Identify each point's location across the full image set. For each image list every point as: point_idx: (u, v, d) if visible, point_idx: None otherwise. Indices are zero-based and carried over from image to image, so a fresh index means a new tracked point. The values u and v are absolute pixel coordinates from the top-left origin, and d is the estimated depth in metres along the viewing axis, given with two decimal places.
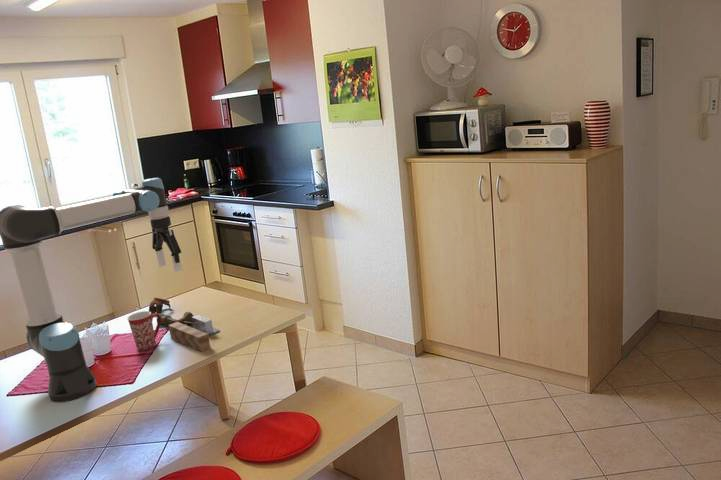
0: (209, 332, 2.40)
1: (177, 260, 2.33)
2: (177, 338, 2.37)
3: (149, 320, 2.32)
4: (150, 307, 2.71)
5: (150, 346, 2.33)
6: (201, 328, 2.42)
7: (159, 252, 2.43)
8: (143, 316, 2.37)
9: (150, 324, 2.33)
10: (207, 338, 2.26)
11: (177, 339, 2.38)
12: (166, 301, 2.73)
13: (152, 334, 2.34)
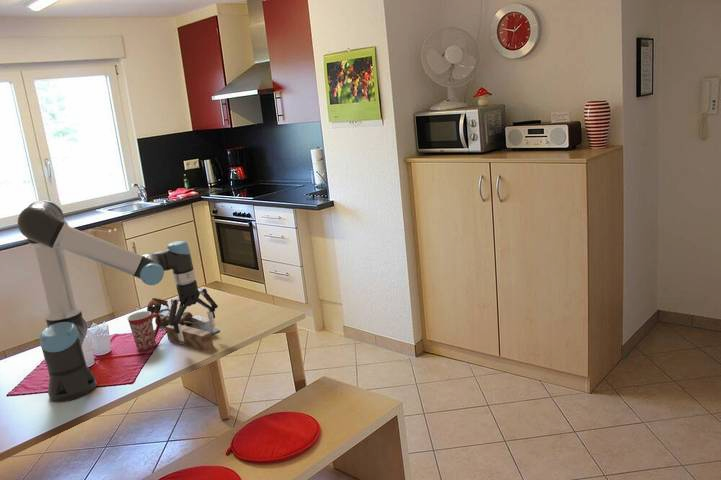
0: None
1: (175, 331, 2.22)
2: (176, 339, 2.37)
3: (149, 320, 2.32)
4: (148, 307, 2.71)
5: (150, 346, 2.33)
6: (201, 328, 2.42)
7: (208, 313, 2.31)
8: (143, 316, 2.37)
9: (150, 324, 2.33)
10: (210, 337, 2.27)
11: (175, 340, 2.37)
12: (164, 301, 2.73)
13: (152, 334, 2.34)
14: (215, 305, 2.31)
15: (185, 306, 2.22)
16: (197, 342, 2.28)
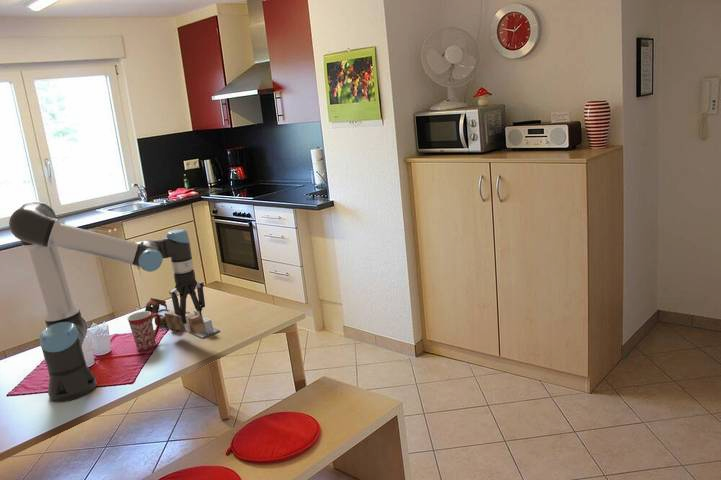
0: (209, 332, 2.40)
1: (182, 321, 2.24)
2: (173, 325, 2.35)
3: (149, 320, 2.32)
4: (147, 307, 2.71)
5: (150, 346, 2.33)
6: None
7: (195, 312, 2.28)
8: (143, 316, 2.37)
9: (150, 324, 2.33)
10: (202, 320, 2.24)
11: (173, 326, 2.36)
12: (163, 301, 2.73)
13: (152, 334, 2.34)
14: (203, 304, 2.28)
15: (185, 296, 2.22)
16: None
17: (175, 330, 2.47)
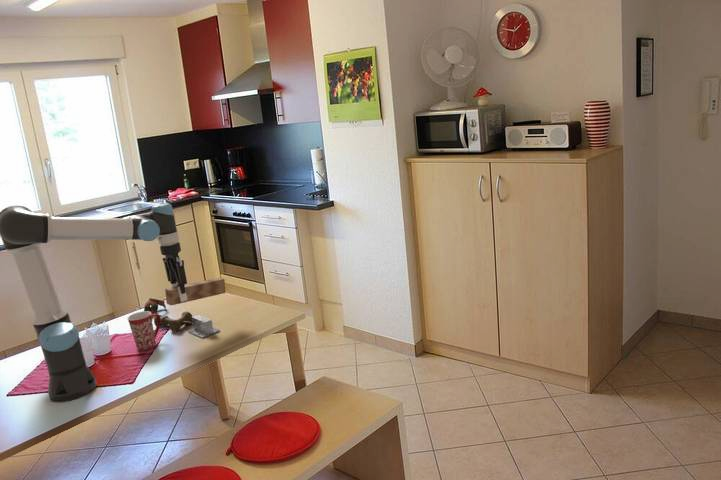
0: (209, 332, 2.40)
1: None
2: None
3: (149, 320, 2.32)
4: (145, 308, 2.71)
5: (150, 346, 2.33)
6: (201, 328, 2.42)
7: None
8: (143, 316, 2.37)
9: (150, 324, 2.33)
10: (169, 295, 2.30)
11: None
12: (161, 302, 2.73)
13: (152, 334, 2.34)
14: (180, 282, 2.28)
15: (167, 266, 2.32)
16: None
17: (175, 330, 2.47)
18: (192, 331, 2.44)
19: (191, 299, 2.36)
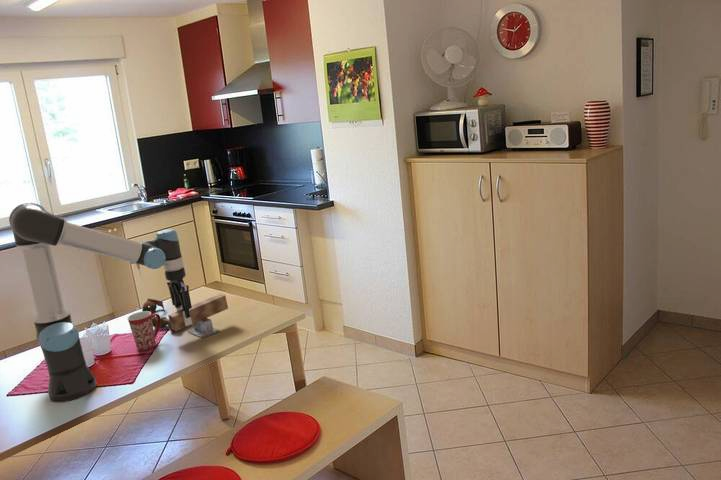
0: (209, 332, 2.40)
1: None
2: None
3: (149, 320, 2.32)
4: (144, 308, 2.71)
5: (150, 346, 2.33)
6: (201, 328, 2.42)
7: None
8: (143, 316, 2.37)
9: (150, 324, 2.33)
10: (173, 321, 2.32)
11: None
12: (160, 302, 2.73)
13: (152, 334, 2.34)
14: (185, 307, 2.31)
15: (172, 291, 2.35)
16: None
17: None
18: (192, 331, 2.44)
19: (195, 321, 2.39)
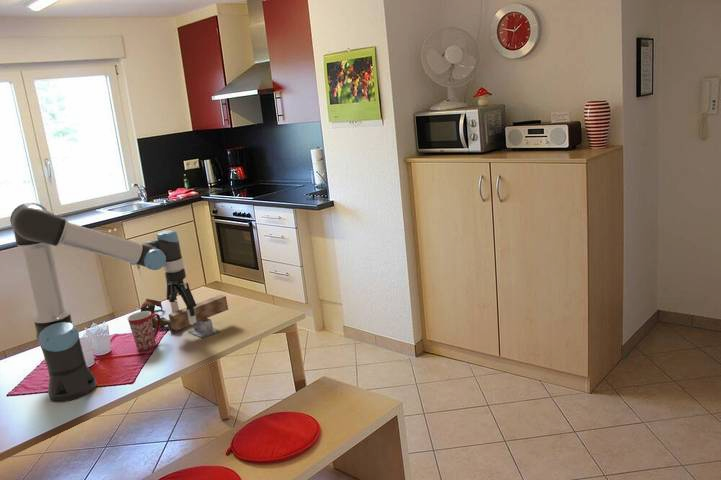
0: (209, 332, 2.40)
1: None
2: None
3: (149, 320, 2.32)
4: (142, 308, 2.71)
5: (150, 346, 2.33)
6: (201, 328, 2.42)
7: None
8: (143, 316, 2.37)
9: (150, 324, 2.33)
10: (173, 320, 2.32)
11: None
12: (158, 302, 2.73)
13: (152, 334, 2.34)
14: (189, 305, 2.28)
15: (171, 290, 2.35)
16: None
17: (175, 330, 2.47)
18: (192, 331, 2.44)
19: None
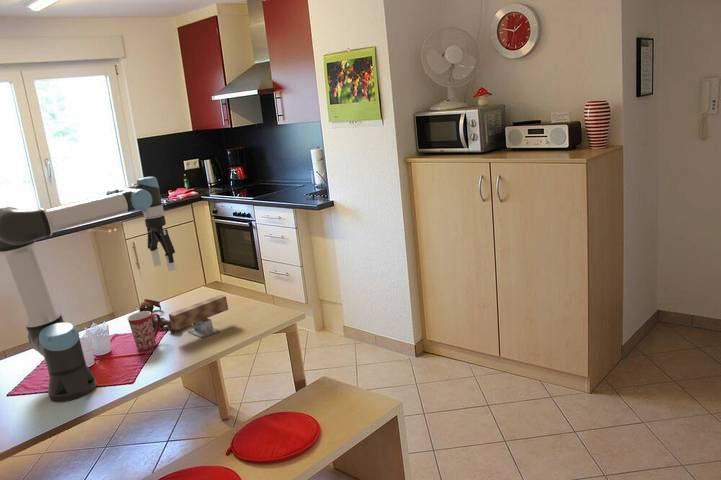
0: (209, 332, 2.40)
1: None
2: None
3: (149, 320, 2.32)
4: (141, 308, 2.71)
5: (150, 346, 2.33)
6: (201, 328, 2.42)
7: None
8: (143, 316, 2.37)
9: (150, 324, 2.33)
10: (173, 320, 2.32)
11: None
12: (157, 302, 2.73)
13: (152, 334, 2.34)
14: (167, 251, 2.27)
15: (151, 237, 2.35)
16: None
17: (174, 330, 2.47)
18: (192, 331, 2.44)
19: (195, 321, 2.39)
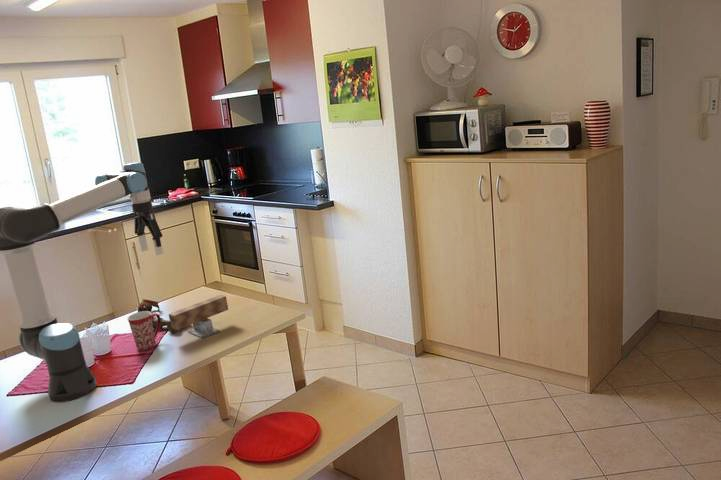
0: (209, 332, 2.40)
1: None
2: None
3: (149, 320, 2.32)
4: (139, 309, 2.71)
5: (150, 346, 2.33)
6: (201, 328, 2.42)
7: None
8: (143, 316, 2.37)
9: (150, 324, 2.33)
10: (173, 320, 2.32)
11: None
12: (155, 302, 2.73)
13: (152, 334, 2.34)
14: (155, 235, 2.31)
15: (138, 222, 2.39)
16: None
17: (174, 331, 2.47)
18: (192, 331, 2.44)
19: (195, 321, 2.39)
